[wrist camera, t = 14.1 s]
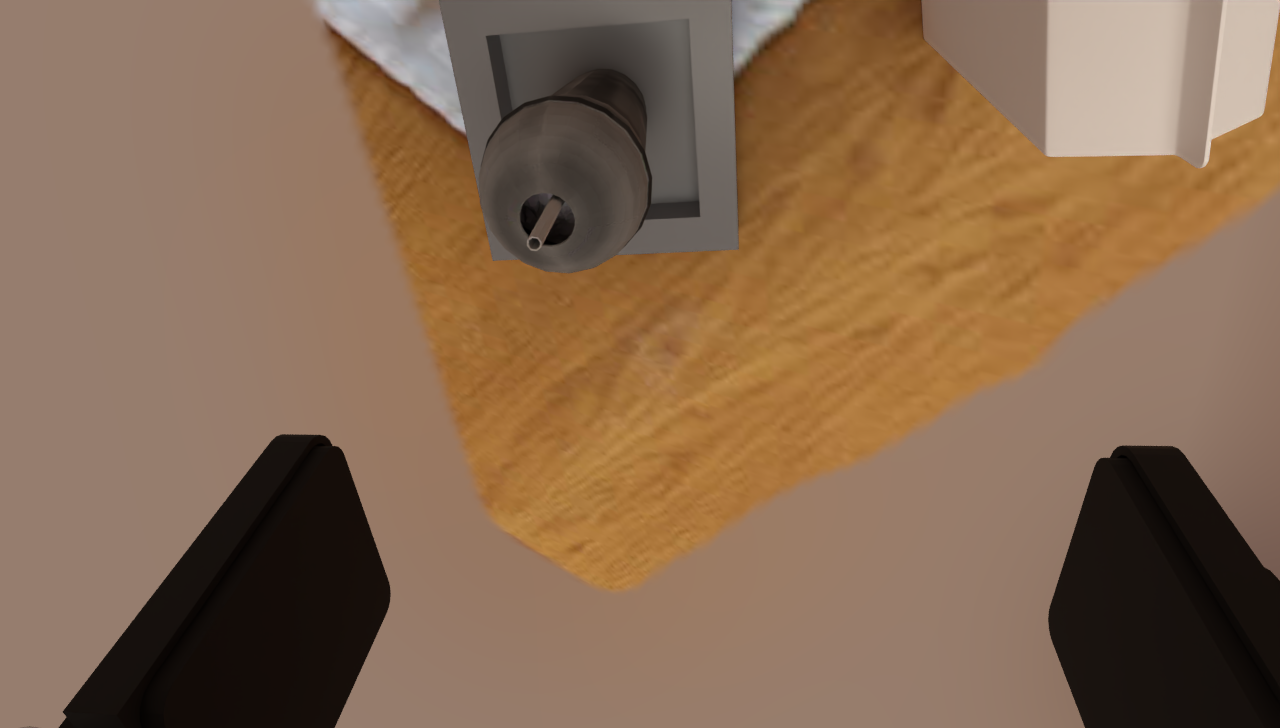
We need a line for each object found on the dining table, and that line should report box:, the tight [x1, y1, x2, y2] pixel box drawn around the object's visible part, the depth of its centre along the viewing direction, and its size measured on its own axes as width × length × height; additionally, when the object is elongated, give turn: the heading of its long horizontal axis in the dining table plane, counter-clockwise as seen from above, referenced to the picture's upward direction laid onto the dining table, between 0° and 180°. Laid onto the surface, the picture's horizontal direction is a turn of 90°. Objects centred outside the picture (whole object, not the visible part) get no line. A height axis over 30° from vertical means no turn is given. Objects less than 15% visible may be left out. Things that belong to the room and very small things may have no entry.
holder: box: [439, 0, 739, 261], centre depth 43 cm, size 14×14×3 cm
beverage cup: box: [479, 69, 652, 273], centre depth 35 cm, size 7×7×20 cm
